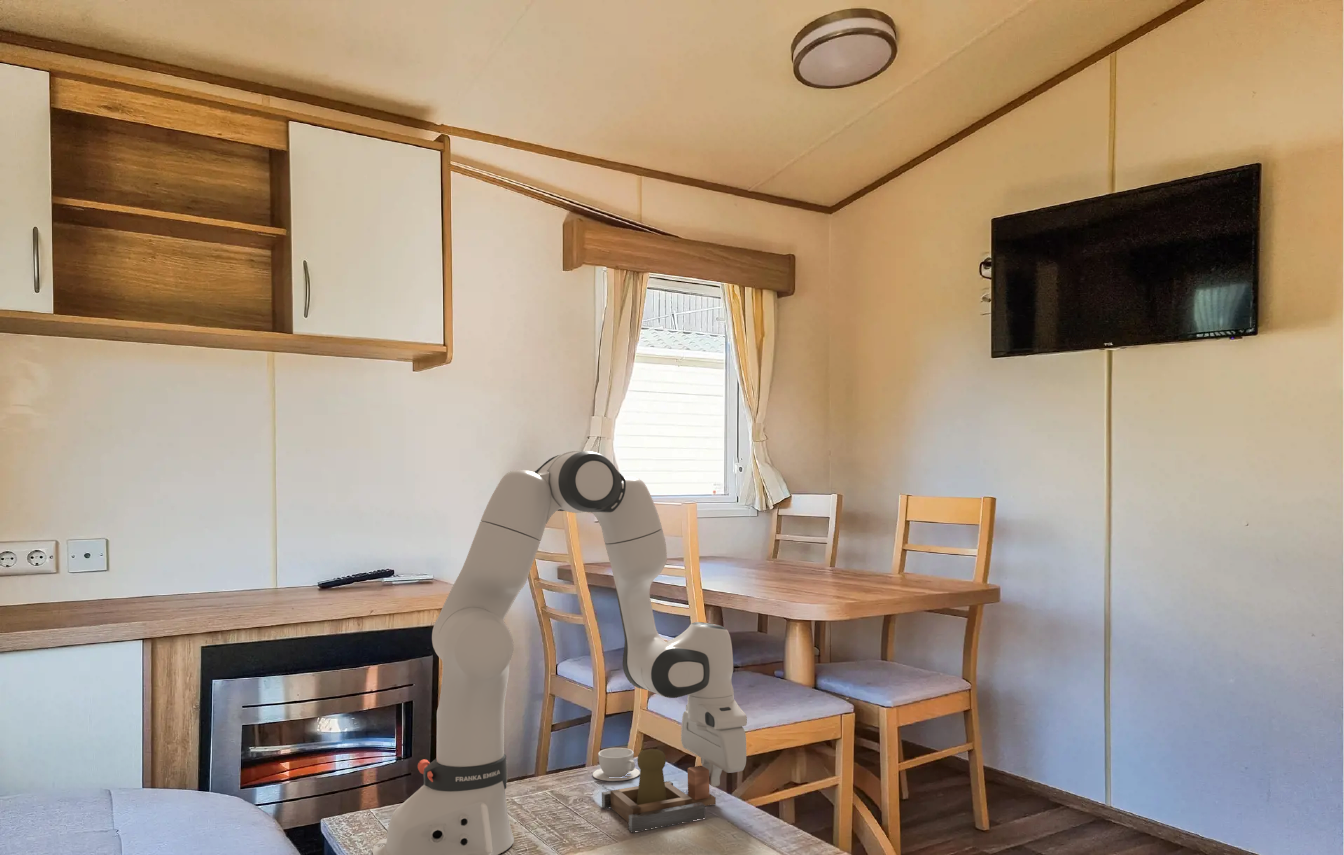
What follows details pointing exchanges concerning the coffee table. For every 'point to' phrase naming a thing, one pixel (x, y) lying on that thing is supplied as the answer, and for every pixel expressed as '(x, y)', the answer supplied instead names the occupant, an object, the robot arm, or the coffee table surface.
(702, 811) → the lane rails
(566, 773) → the coffee table surface
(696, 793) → the frame
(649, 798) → the cork
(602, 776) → the teacup
